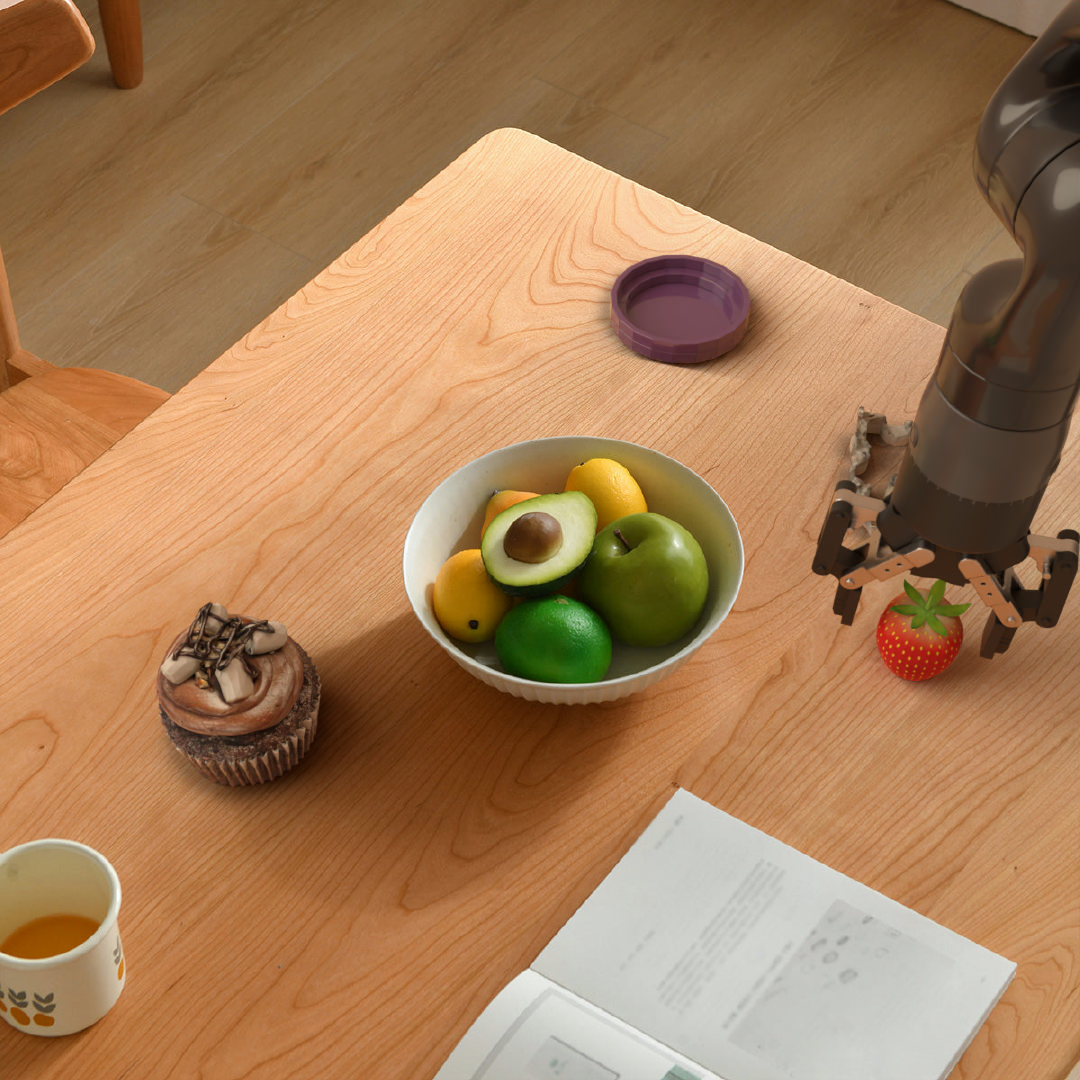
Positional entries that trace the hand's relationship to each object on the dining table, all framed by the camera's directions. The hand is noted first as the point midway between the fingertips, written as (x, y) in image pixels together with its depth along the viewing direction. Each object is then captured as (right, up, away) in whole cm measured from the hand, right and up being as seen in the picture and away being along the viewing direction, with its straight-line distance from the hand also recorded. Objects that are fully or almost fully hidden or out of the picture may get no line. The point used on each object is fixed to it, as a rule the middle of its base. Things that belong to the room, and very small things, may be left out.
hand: (916, 630), depth 84 cm
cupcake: (-41, -7, 0) cm, 42 cm away
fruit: (0, -3, +4) cm, 5 cm away
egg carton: (+2, +9, +13) cm, 16 cm away
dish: (-12, +23, +26) cm, 37 cm away
